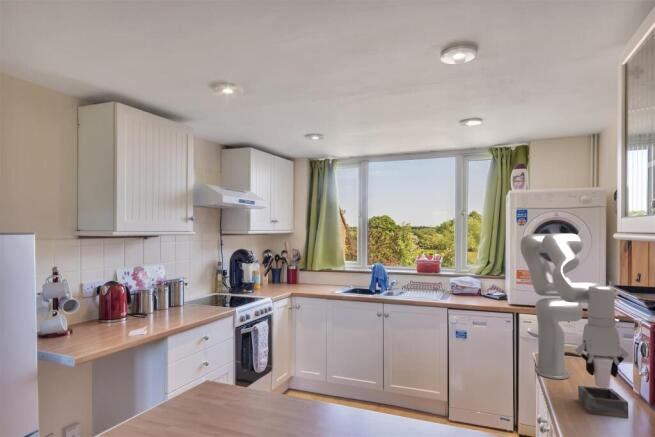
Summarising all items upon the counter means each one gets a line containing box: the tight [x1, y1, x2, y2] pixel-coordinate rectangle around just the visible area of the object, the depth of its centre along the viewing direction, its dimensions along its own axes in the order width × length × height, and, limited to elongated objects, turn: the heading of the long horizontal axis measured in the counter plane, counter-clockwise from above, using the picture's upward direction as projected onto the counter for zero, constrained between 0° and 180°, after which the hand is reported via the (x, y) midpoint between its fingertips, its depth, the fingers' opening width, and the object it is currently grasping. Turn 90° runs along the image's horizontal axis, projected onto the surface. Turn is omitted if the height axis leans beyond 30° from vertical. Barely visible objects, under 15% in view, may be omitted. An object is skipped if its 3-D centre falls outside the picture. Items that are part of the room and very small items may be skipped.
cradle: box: [577, 385, 629, 419], centre depth 129 cm, size 11×11×5 cm
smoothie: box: [592, 356, 613, 389], centre depth 129 cm, size 6×6×14 cm
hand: (601, 374), depth 129 cm, fingers closed on smoothie, 6 cm apart
